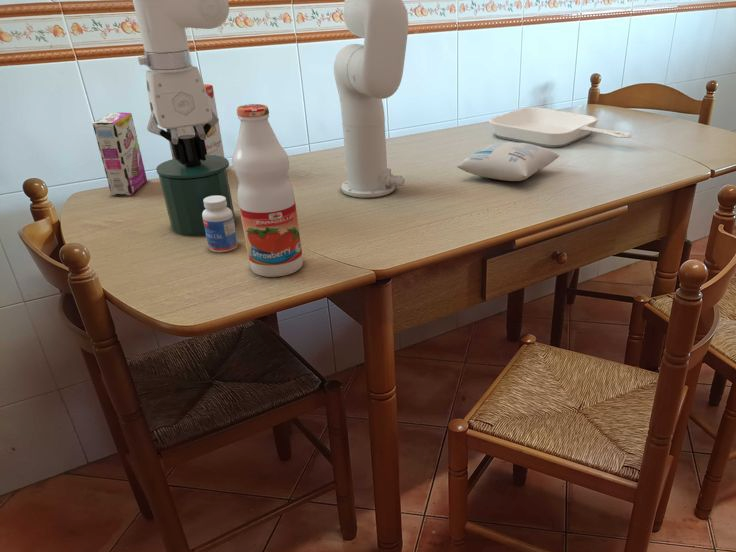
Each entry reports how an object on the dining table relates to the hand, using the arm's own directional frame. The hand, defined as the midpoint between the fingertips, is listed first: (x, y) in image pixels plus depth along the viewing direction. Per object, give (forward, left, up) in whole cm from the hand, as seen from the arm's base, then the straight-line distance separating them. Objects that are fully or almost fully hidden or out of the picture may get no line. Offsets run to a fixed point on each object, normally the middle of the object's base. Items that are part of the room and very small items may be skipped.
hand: (191, 160), depth 131 cm
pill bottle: (-10, +10, -14) cm, 20 cm away
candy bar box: (+29, -17, -14) cm, 36 cm away
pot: (0, 0, -13) cm, 13 cm away
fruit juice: (-24, +16, -14) cm, 32 cm away
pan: (-68, -87, -14) cm, 111 cm away
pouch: (-57, -47, -14) cm, 75 cm away
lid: (0, 0, -2) cm, 2 cm away
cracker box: (+17, -29, -14) cm, 36 cm away
